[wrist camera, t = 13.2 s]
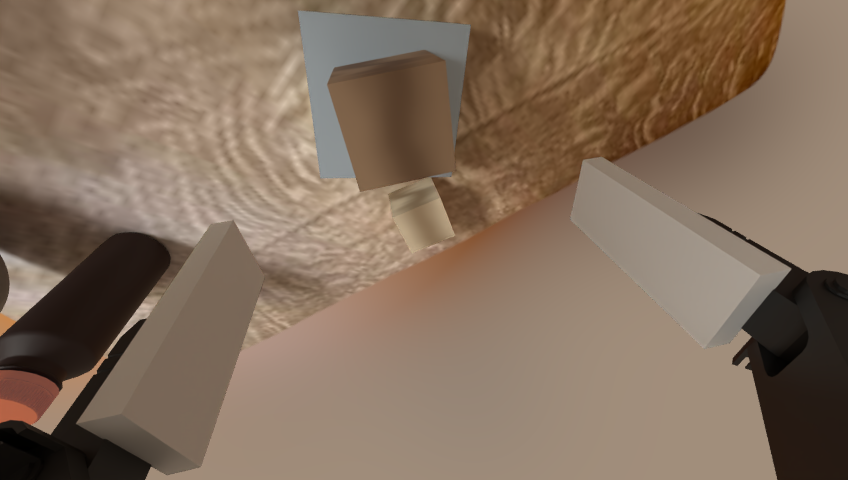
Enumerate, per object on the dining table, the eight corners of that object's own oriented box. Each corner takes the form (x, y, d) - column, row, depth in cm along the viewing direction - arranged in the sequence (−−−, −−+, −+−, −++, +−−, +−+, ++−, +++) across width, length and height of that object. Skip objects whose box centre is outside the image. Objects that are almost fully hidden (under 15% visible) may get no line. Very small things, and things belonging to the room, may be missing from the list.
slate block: (325, 156, 37) (320, 178, 32) (307, 10, 29) (298, 10, 24) (439, 156, 40) (451, 176, 35) (453, 22, 31) (470, 24, 27)
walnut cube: (359, 155, 32) (360, 191, 25) (334, 67, 27) (326, 84, 20) (436, 139, 32) (456, 170, 26) (424, 49, 27) (445, 60, 21)
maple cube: (405, 227, 45) (411, 253, 40) (388, 193, 41) (392, 217, 36) (444, 211, 44) (455, 235, 39) (430, 175, 40) (440, 197, 36)
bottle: (128, 221, 37) (-44, 378, 21) (183, 255, 41) (74, 409, 25) (93, 250, 38) (-93, 419, 22) (150, 280, 42) (26, 442, 26)
